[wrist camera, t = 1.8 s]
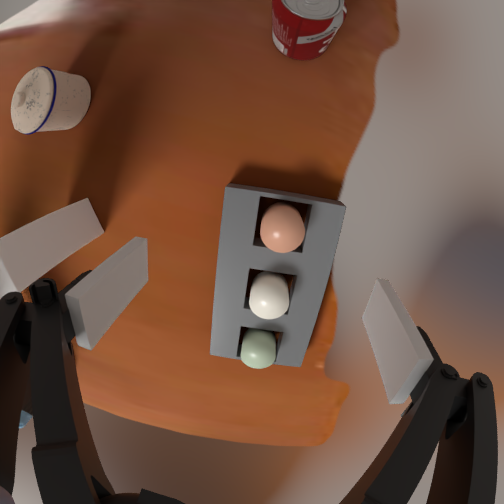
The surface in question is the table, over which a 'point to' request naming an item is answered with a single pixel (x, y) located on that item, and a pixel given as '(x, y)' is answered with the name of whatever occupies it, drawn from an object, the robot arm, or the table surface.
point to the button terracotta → (282, 227)
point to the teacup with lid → (49, 101)
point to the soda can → (305, 26)
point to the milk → (45, 244)
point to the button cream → (269, 295)
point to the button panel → (262, 258)
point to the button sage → (258, 348)
